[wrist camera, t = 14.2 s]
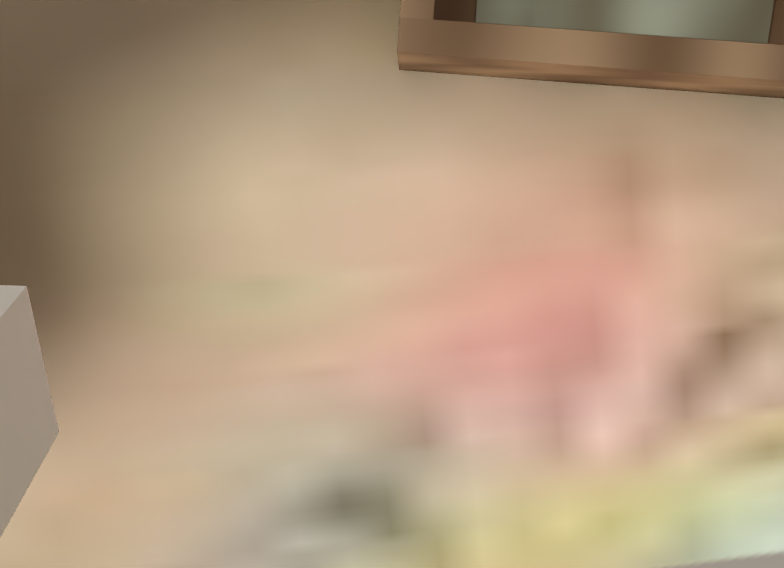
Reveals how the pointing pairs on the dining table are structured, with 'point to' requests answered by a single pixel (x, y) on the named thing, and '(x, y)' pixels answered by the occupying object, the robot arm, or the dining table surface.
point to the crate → (602, 42)
